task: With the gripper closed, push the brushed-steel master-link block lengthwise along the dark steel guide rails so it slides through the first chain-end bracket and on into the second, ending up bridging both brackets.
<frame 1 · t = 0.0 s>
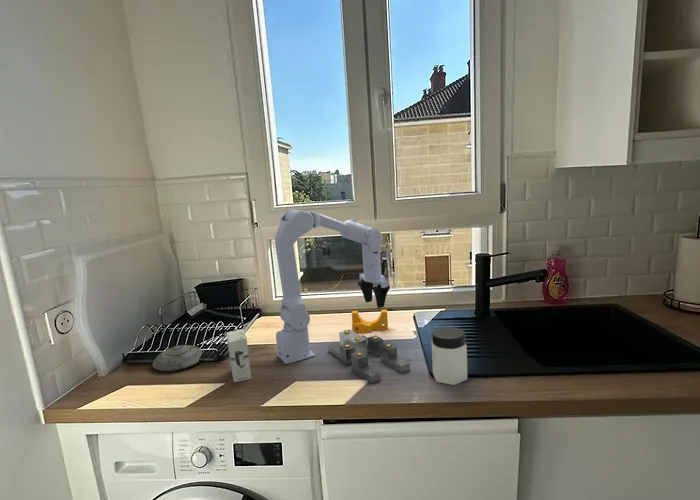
hand: (374, 304, 138), 10 cm above the counter, fingers open, 7 cm apart
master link: (353, 351, 127), on the counter
pipe clamp: (370, 330, 143), on the counter
chain end B: (375, 365, 116), on the counter
chain end A: (362, 357, 122), on the counter
jar: (449, 377, 107), on the counter
flying saucer: (179, 364, 128), on the counter
ink box: (241, 375, 117), on the counter
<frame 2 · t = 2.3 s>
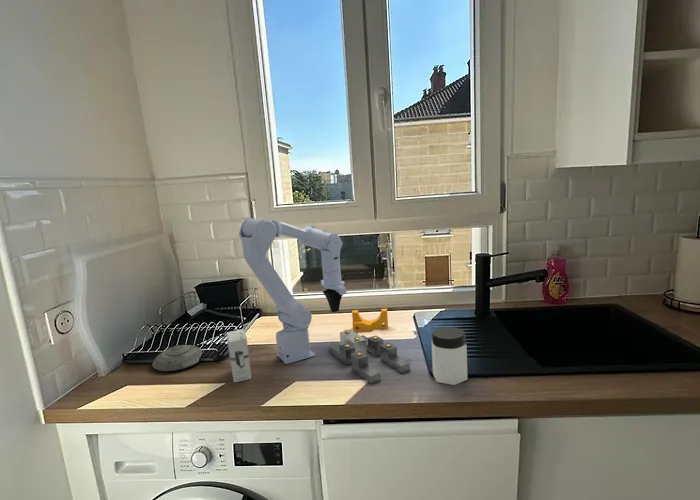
hand: (335, 311, 135), 10 cm above the counter, fingers closed
pipe clamp: (370, 329, 144), on the counter
everything else where it was.
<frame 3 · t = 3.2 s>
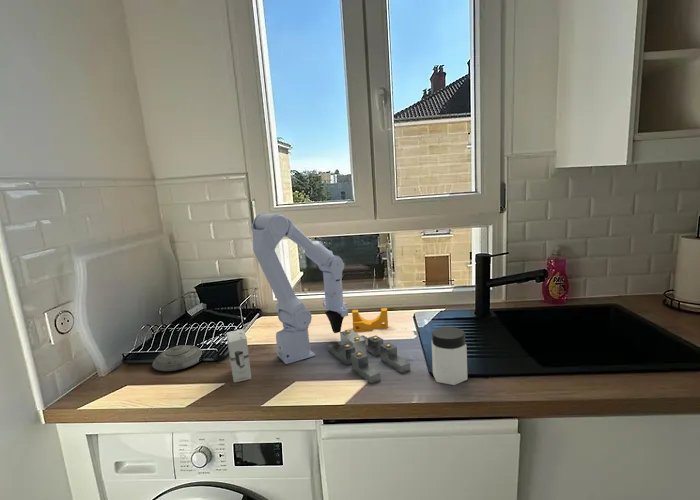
hand: (336, 332, 136), 3 cm above the counter, fingers closed
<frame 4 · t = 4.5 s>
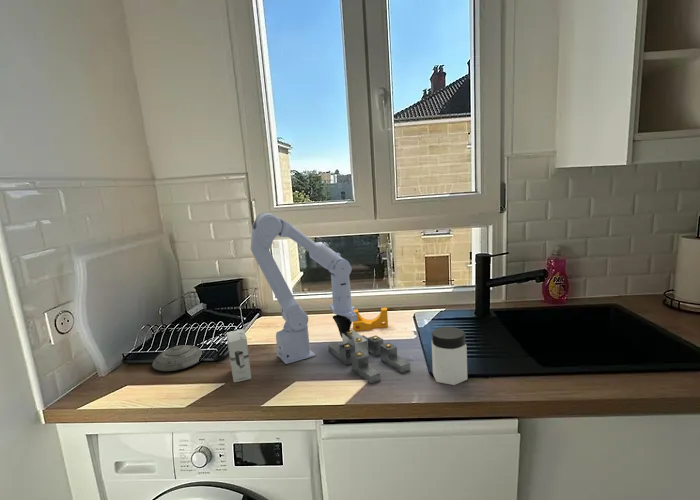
hand: (344, 337, 131), 3 cm above the counter, fingers closed
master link: (355, 352, 126), on the counter, touching gripper
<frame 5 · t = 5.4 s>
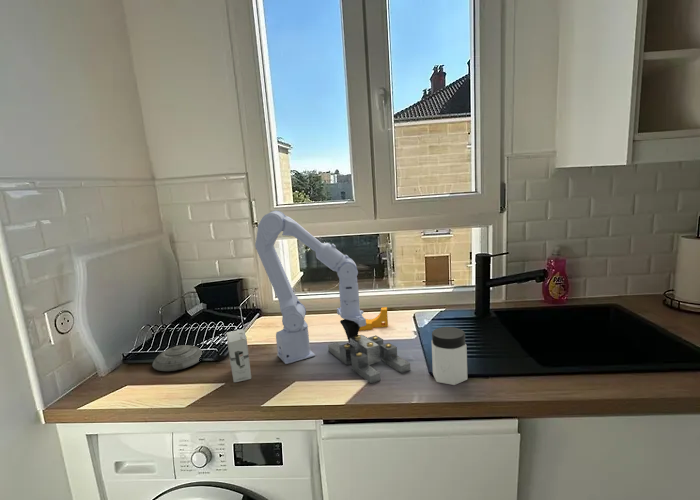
hand: (352, 342, 127), 3 cm above the counter, fingers closed
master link: (365, 357, 122), on the counter, touching gripper
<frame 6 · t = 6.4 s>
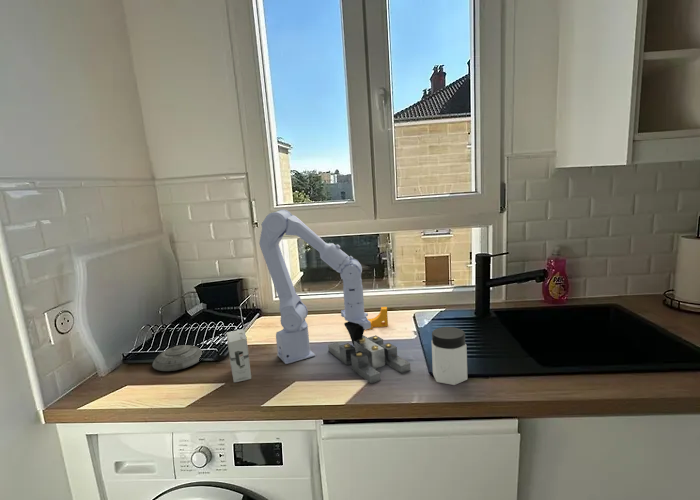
hand: (357, 345, 124), 3 cm above the counter, fingers closed
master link: (369, 360, 119), on the counter, touching gripper
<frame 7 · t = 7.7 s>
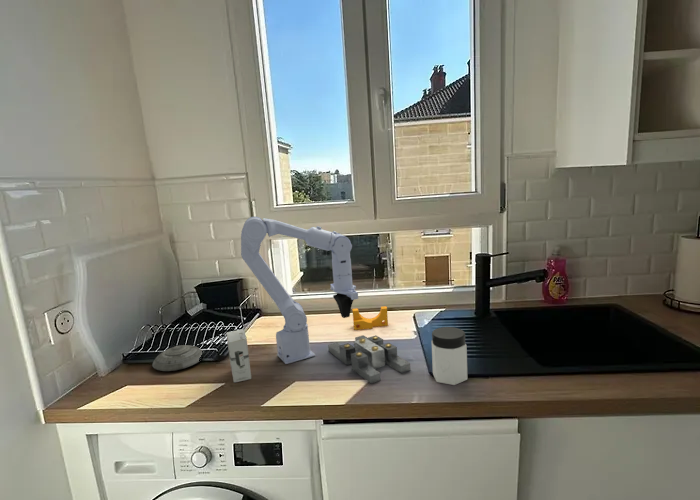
hand: (345, 316, 128), 10 cm above the counter, fingers closed
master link: (369, 361, 119), on the counter
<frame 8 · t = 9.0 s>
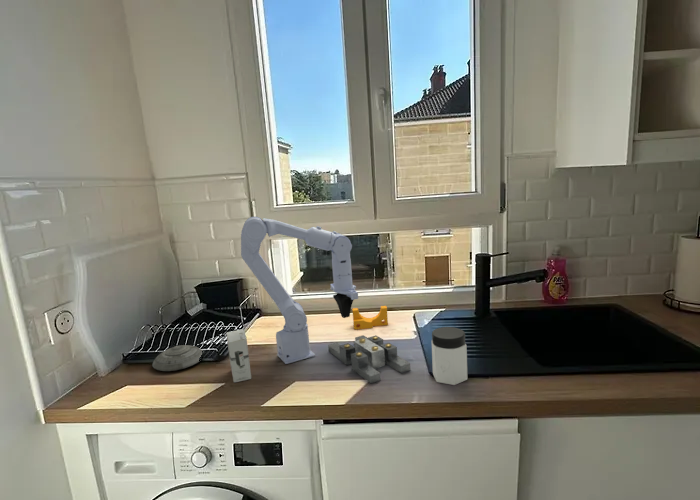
hand: (345, 316, 128), 10 cm above the counter, fingers closed
at the end: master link 0.4 cm from the target spot, on the counter; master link tilted 0°; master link moved 8.9 cm from its start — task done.
